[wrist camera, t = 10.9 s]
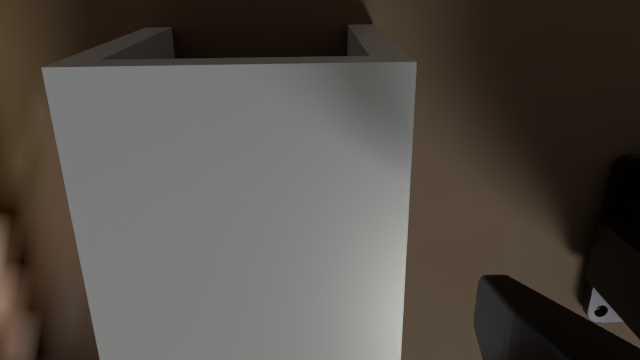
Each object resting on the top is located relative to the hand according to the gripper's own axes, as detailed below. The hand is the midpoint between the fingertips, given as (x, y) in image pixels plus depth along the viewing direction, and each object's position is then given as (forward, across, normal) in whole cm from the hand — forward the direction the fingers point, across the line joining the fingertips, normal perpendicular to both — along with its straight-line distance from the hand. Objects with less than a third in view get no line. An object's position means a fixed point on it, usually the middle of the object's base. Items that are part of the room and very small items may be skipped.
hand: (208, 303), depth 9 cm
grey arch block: (+10, 0, 0) cm, 10 cm away
